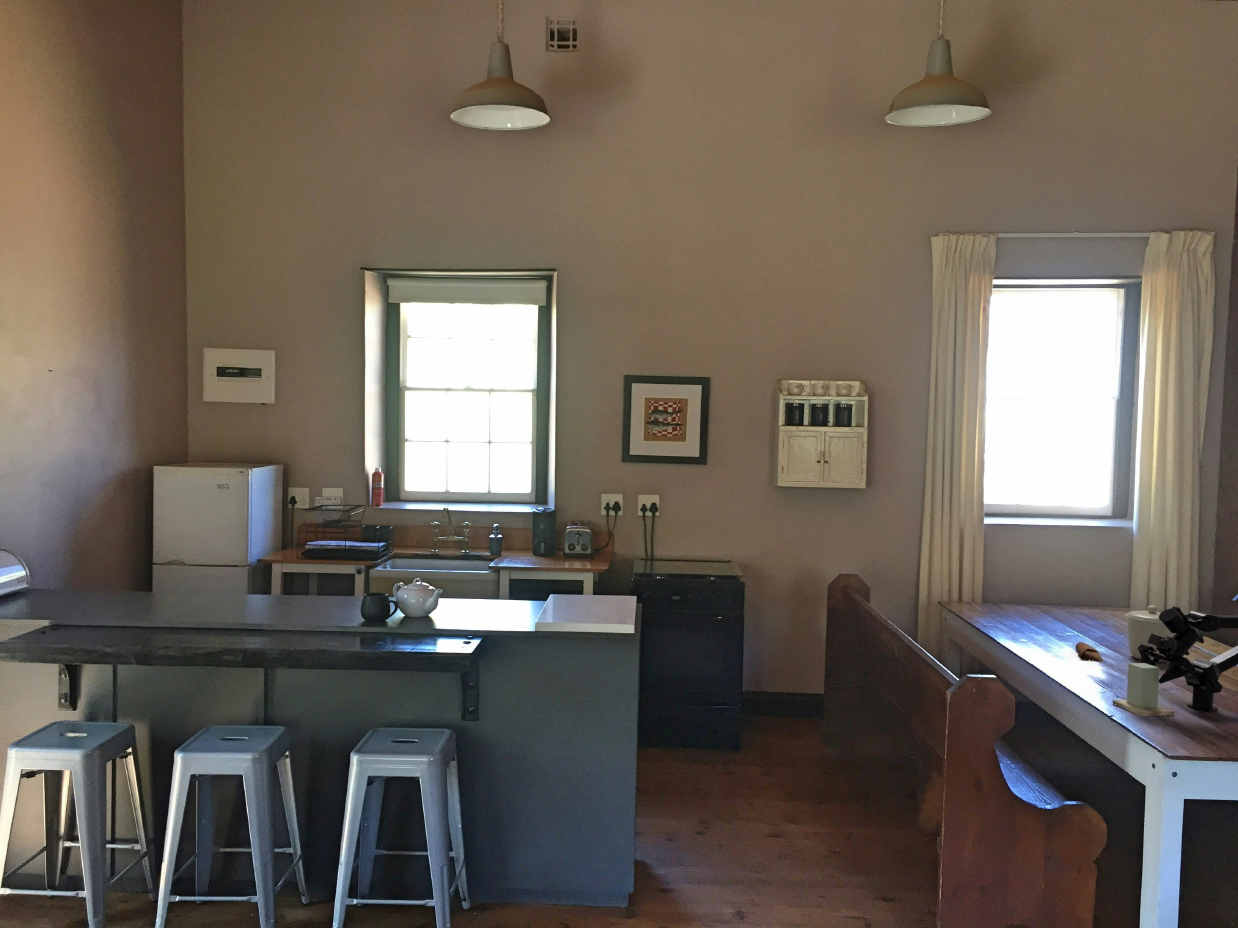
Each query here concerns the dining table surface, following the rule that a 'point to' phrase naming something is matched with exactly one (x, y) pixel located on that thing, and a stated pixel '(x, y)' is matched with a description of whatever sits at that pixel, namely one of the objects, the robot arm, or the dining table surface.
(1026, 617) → the dining table surface
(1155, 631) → the canister
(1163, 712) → the birch slab
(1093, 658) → the brown bread roll
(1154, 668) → the sage block
